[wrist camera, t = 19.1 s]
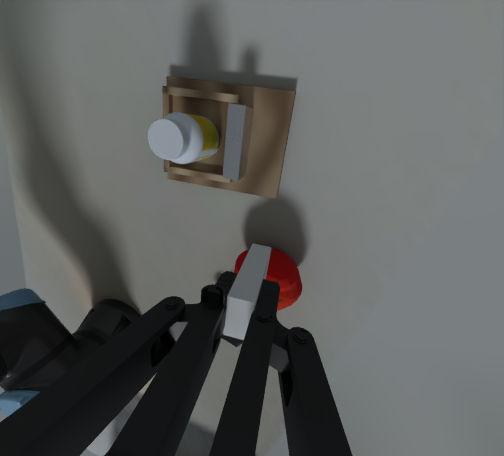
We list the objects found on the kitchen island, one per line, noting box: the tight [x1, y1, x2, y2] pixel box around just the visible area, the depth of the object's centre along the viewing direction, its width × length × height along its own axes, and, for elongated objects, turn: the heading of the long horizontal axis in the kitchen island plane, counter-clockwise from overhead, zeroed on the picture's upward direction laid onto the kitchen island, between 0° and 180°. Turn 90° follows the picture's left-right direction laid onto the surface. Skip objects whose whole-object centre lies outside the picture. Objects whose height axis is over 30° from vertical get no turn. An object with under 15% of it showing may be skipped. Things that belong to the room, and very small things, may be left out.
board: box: [163, 76, 296, 199], centre depth 38 cm, size 20×16×3 cm
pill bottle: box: [148, 112, 221, 164], centre depth 33 cm, size 6×6×12 cm
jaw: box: [222, 103, 253, 181], centre depth 35 cm, size 2×10×5 cm, turn 173°
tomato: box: [234, 248, 302, 310], centre depth 42 cm, size 11×13×10 cm
